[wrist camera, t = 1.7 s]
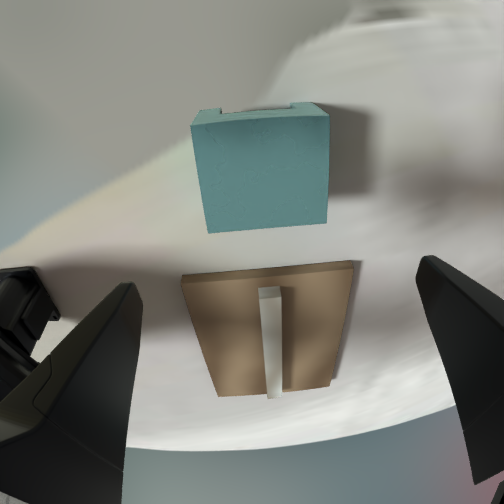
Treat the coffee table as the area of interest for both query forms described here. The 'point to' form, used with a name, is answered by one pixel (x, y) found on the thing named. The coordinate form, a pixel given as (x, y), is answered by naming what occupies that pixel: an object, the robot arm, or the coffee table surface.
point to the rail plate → (270, 326)
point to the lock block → (263, 167)
